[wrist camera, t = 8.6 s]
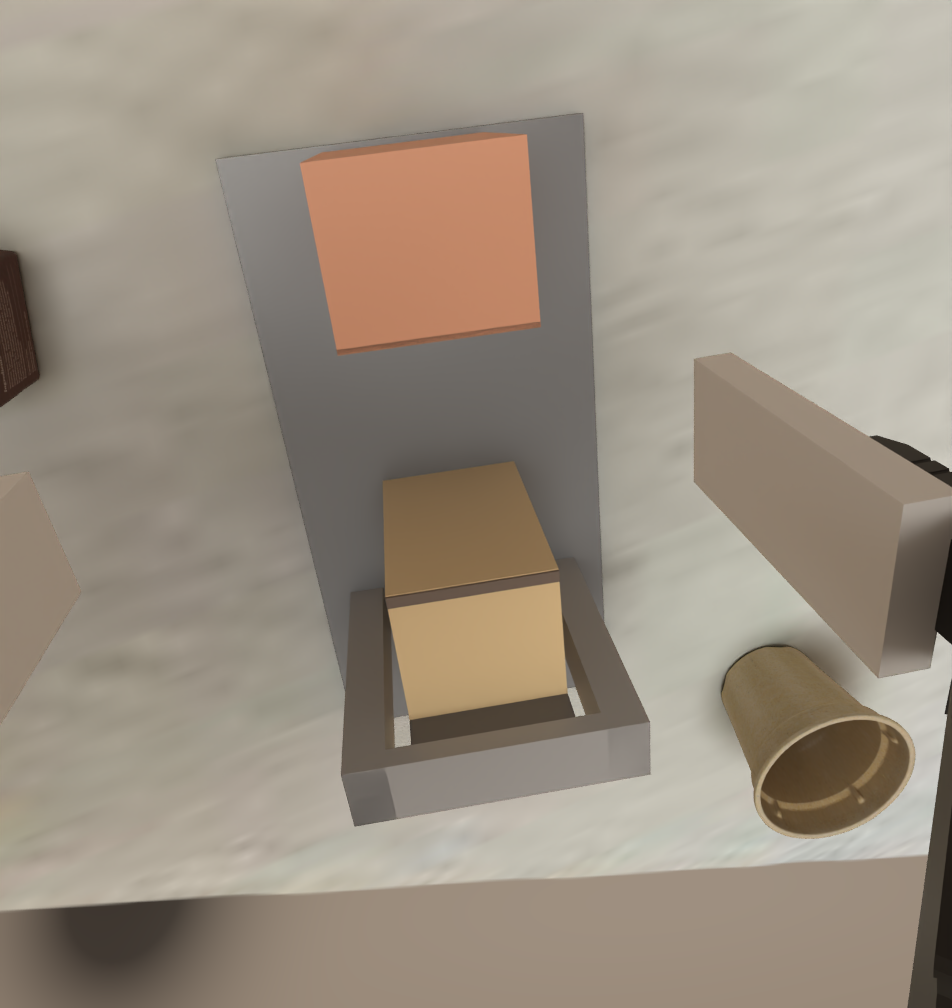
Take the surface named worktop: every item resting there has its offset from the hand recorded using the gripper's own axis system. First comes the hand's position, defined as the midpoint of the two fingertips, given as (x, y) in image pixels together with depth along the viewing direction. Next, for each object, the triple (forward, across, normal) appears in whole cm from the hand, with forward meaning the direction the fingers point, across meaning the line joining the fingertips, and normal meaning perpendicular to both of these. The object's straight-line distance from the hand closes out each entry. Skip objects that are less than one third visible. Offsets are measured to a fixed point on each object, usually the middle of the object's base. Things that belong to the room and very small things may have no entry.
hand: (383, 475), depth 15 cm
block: (+22, +2, +2) cm, 22 cm away
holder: (+23, +2, -10) cm, 26 cm away
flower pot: (+23, +21, -30) cm, 43 cm away
